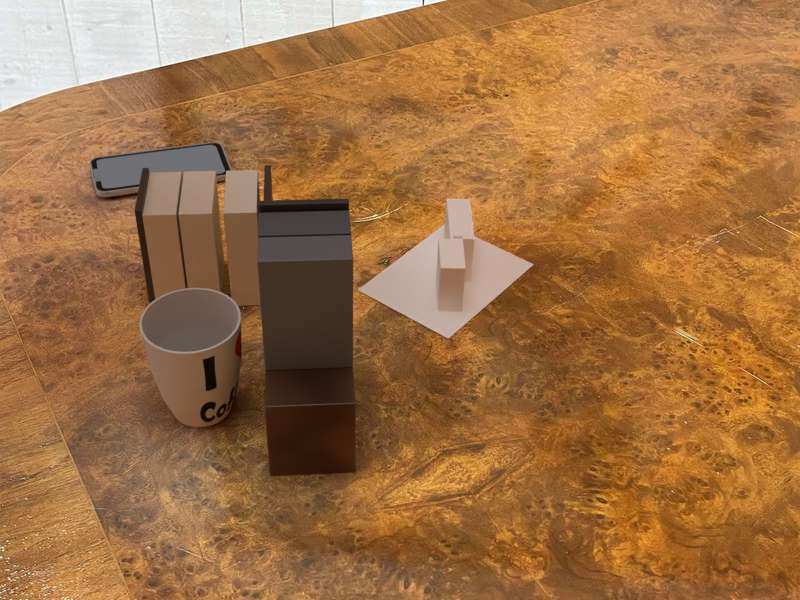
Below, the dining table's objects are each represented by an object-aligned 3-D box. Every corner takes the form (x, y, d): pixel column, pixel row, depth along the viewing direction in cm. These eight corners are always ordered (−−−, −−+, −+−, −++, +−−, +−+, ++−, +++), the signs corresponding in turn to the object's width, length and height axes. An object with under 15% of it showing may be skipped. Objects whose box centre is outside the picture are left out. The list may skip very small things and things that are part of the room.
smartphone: (234, 174, 119) (96, 193, 115) (234, 181, 120) (97, 201, 115) (220, 140, 124) (88, 157, 120) (220, 147, 125) (89, 164, 121)
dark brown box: (269, 475, 87) (264, 407, 82) (270, 373, 96) (266, 305, 91) (355, 472, 87) (355, 403, 82) (348, 370, 97) (348, 303, 91)
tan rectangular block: (263, 305, 103) (256, 212, 96) (232, 306, 103) (223, 213, 96) (264, 260, 108) (257, 169, 101) (234, 261, 108) (226, 170, 101)
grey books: (265, 370, 85) (256, 256, 77) (266, 312, 90) (258, 200, 83) (353, 367, 85) (353, 253, 78) (349, 309, 91) (348, 198, 83)
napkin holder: (444, 222, 114) (447, 177, 111) (534, 263, 109) (541, 218, 106) (356, 290, 105) (356, 244, 102) (450, 339, 100) (453, 292, 96)
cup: (211, 454, 88) (199, 366, 82) (134, 417, 91) (117, 330, 85) (267, 394, 94) (260, 308, 87) (193, 361, 97) (181, 276, 90)
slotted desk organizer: (150, 309, 102) (134, 210, 95) (156, 264, 108) (142, 167, 100) (276, 305, 103) (270, 207, 96) (276, 260, 109) (270, 164, 101)
